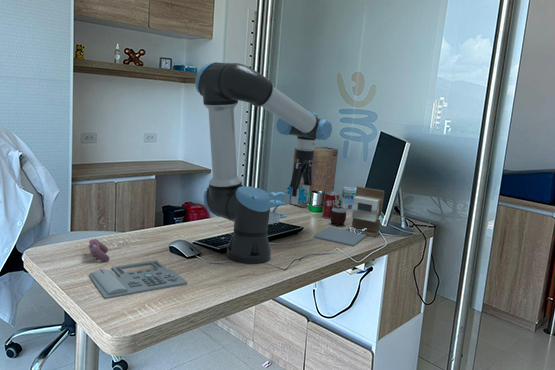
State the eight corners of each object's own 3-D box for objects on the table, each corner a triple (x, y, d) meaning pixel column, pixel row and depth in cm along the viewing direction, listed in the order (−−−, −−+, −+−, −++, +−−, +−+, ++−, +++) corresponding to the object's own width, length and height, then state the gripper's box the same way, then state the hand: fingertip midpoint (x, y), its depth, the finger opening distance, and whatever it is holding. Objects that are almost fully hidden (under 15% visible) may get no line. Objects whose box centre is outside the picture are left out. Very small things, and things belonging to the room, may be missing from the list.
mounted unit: (374, 237, 201) (380, 193, 198) (347, 231, 206) (352, 188, 203) (379, 233, 208) (384, 190, 205) (353, 228, 213) (358, 186, 210)
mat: (353, 246, 186) (353, 245, 186) (313, 237, 193) (313, 236, 193) (366, 236, 202) (366, 234, 202) (328, 228, 209) (328, 227, 209)
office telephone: (105, 292, 122) (83, 266, 137) (105, 302, 122) (83, 275, 138) (188, 277, 135) (160, 255, 151) (187, 286, 136) (159, 263, 152)
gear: (291, 200, 192) (286, 180, 197) (284, 208, 196) (278, 188, 201) (313, 203, 198) (307, 184, 203) (305, 211, 202) (299, 191, 207)
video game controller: (95, 256, 155) (85, 238, 153) (109, 250, 156) (99, 232, 154) (96, 267, 146) (85, 248, 144) (110, 260, 147) (100, 241, 145)
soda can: (319, 215, 231) (322, 191, 229) (333, 215, 233) (335, 191, 231) (325, 219, 224) (328, 194, 222) (339, 219, 226) (342, 195, 224)
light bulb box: (342, 209, 250) (345, 188, 248) (340, 206, 256) (342, 186, 254) (362, 210, 251) (365, 190, 249) (359, 207, 257) (361, 187, 255)
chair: (276, 213, 228) (278, 189, 226) (286, 217, 221) (288, 192, 219) (263, 214, 223) (265, 189, 221) (273, 218, 217) (275, 193, 214)
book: (302, 208, 242) (307, 150, 237) (288, 204, 249) (294, 147, 243) (332, 203, 261) (338, 149, 255) (319, 199, 267) (324, 147, 261)
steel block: (274, 224, 207) (275, 216, 207) (264, 222, 209) (265, 214, 209) (279, 222, 212) (280, 213, 211) (269, 220, 214) (269, 211, 213)
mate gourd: (344, 227, 212) (348, 195, 210) (327, 225, 214) (330, 193, 211) (345, 223, 220) (348, 192, 217) (328, 221, 221) (331, 190, 218)
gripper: (302, 152, 183) (296, 207, 187) (323, 149, 204) (317, 199, 207) (285, 149, 186) (279, 204, 190) (307, 147, 207) (301, 196, 210)
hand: (299, 202), depth 199 cm, fingers closed on gear, 10 cm apart
